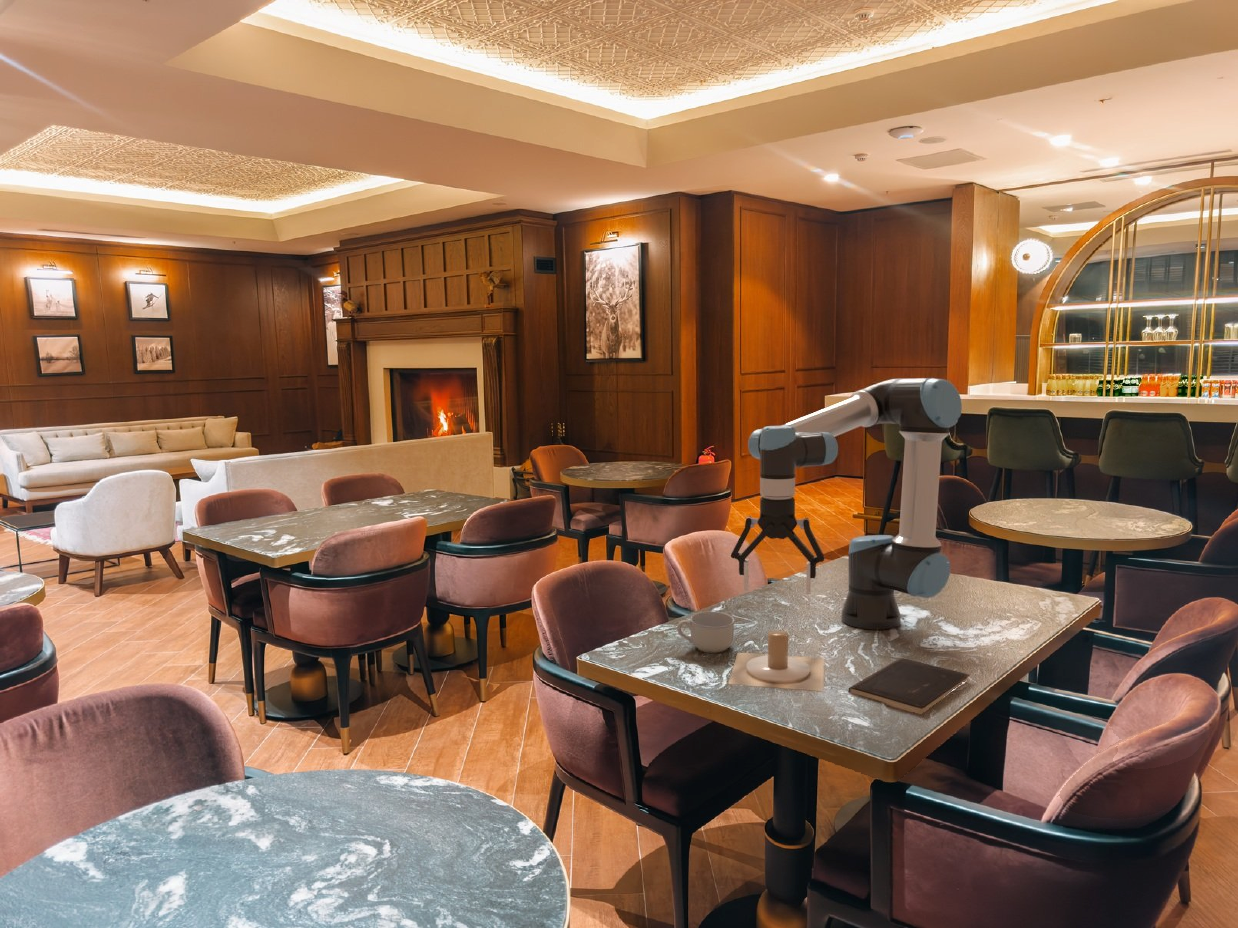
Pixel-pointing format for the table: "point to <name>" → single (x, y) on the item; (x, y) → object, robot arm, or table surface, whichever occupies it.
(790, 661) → the lid
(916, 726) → the table surface
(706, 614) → the teacup
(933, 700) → the hardcover book
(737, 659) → the mat
